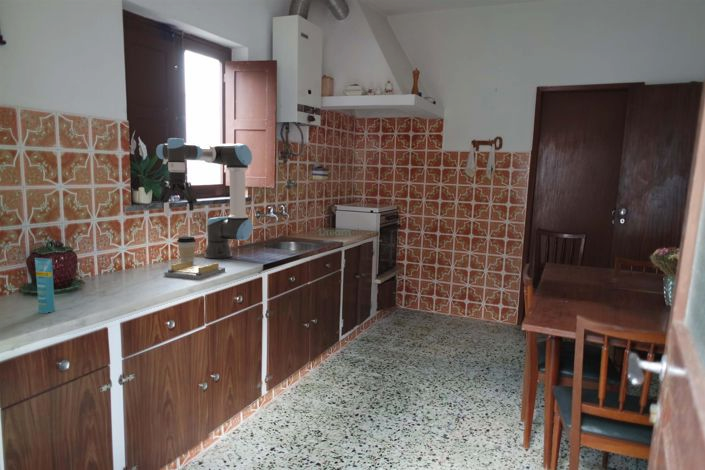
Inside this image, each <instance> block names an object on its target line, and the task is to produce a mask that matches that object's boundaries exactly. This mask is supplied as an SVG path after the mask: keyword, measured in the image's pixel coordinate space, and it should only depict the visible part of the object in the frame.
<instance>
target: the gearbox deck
mask: <svg viewBox="0 0 705 470" xmlns="http://www.w3.org/2000/svg"><path fill="white" fill-rule="evenodd" d="M219 265H220V264H219V262H214V263H211V264H206V265H199V264H198V265H197V264H194V263H193V261H192V260H189V261H185V262H181V261H180V262H178V263H175V264H174V263H173V264H171V266H170V267H171V268H170V269H168V270H167V271H164V272H163V276H164V277H168V278H175V279H176V278H177V279H186V280H188V279H189V280H195V281H201V280H204V279H207V278H211V277H213V276H217V275H220V274H222V273H226V268H225V267H220V266H219Z"/></svg>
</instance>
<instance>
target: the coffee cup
mask: <svg viewBox="0 0 705 470" xmlns="http://www.w3.org/2000/svg"><path fill="white" fill-rule="evenodd" d="M196 241H197V239H195V236H179V237H178V239H177V240H176V242H177V243H178V253H179V259H180V263H181V262H185V261H189V260H192V261H193V264H194V262H195V252H196Z"/></svg>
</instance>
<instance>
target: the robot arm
mask: <svg viewBox="0 0 705 470" xmlns="http://www.w3.org/2000/svg"><path fill="white" fill-rule="evenodd" d="M155 154H156V156H157V158H159V159H160V160H167V168H168V171H169V172H168V173H167V174H168V175H167V178H168V180H169V181H164V182H163V187H162V189H161V192H160V195H159V199H158V201H159V202H162V208H163V209H162V210H163V216H164V217H170V202H169V200H170V199H171V197H172V196H173V194H174V193H176V192H177V193H181V194H182V196H183V197H184V199H185V200H186V201H187V204H186V210H187V211H186V215H187V218H188V219H190V218H193V211H194V204H195V203H197V202H198V200H197V197H196V195H195V193H194V189H193V188H192V183H191V182H189V181H188V182H186V178H187V177H186V161H204V162H206V163H210V164H216V165H221V166H223V165H224V166H226V170H228V171H229V173H228V174H229V215H227V216H215V217H209V218H208V219H207V224H206V228H207V245H206V249H205V252H204V258H208V259H226V258H231V257H232V255H233V254H232V253H233V252H232V249H231V246H230V243H229V240H231V241H232V240H234V241H247V240H248V239H250V237H251V235H252V233H253V228H254V226H253V222H252V221H251V220H250V219H249V216H248V214H247V213H246V212H247V211H246V207H247V206H246V203H247V202H246V171H247V170H248V168H249V165H251V163H252V162H253V161H252V160H253V155H252V154H253V153H252V150H251V149H250V147H249V146H248V145H247V144H244V143H221V144H220V143H219V144H211V145H210V144H206V145H204V146H201V145H199V144H195V143H186V142H185V139H184V138H177V137H170V138H169V137H168V139H167V142H166V143H160V144H158V145H157V147H156V149H155Z"/></svg>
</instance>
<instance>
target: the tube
mask: <svg viewBox="0 0 705 470" xmlns="http://www.w3.org/2000/svg"><path fill="white" fill-rule="evenodd" d="M34 265H35V266H34V267H35V278H36V289H37V290H36V292H37V304H38V305H37V306H38V313H39V314H49V313H48V312H51V313H53V311H54V312H55V311H56V304H55V290H54V275H53V274H54V273H53V258H41V257H34Z"/></svg>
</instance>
